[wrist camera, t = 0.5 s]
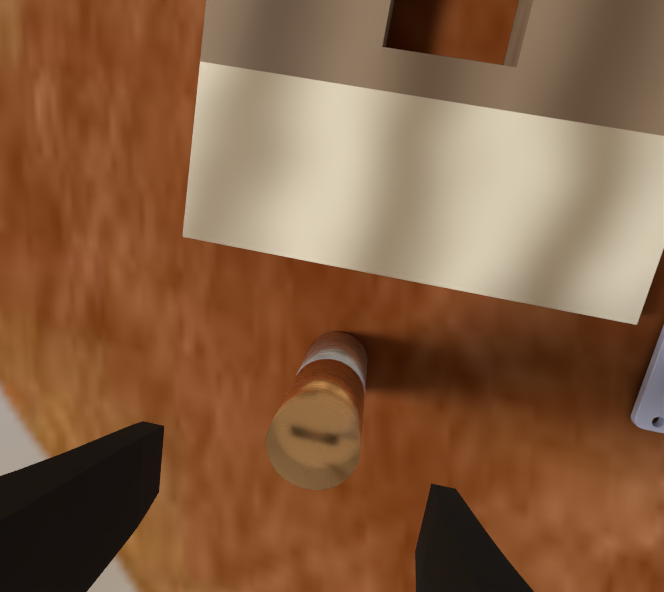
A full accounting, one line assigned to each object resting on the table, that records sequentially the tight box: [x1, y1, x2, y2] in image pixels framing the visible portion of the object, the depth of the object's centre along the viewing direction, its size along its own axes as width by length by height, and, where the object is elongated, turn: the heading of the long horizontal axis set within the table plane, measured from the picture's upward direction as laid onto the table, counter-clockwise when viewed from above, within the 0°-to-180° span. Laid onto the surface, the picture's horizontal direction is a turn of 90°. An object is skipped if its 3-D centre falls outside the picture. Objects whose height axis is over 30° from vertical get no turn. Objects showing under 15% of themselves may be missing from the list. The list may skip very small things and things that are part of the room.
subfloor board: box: [183, 0, 664, 325], centre depth 17 cm, size 19×18×2 cm
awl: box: [266, 331, 368, 490], centre depth 17 cm, size 3×3×8 cm
